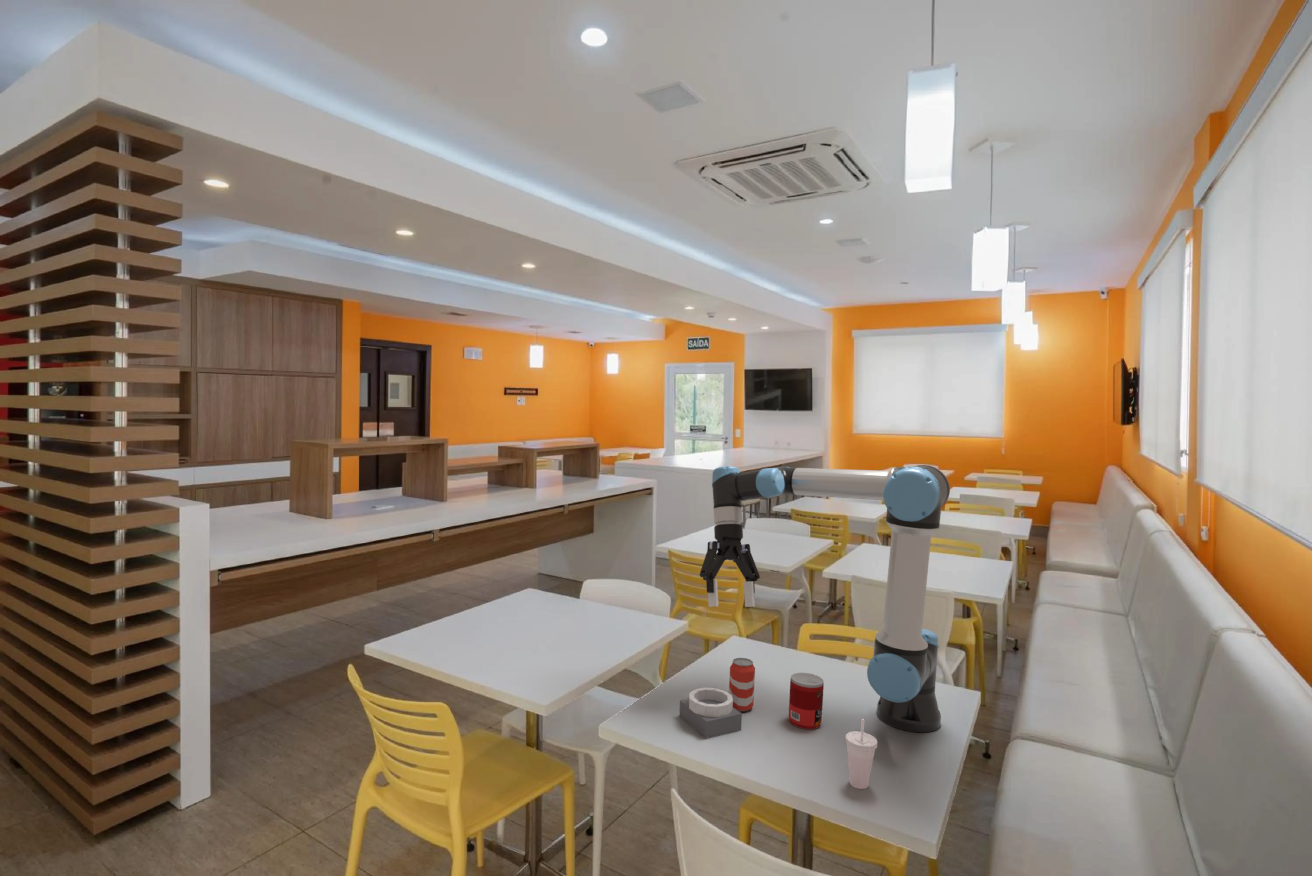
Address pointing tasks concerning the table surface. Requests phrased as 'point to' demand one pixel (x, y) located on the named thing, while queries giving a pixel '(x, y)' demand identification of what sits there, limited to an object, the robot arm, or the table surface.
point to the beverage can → (742, 683)
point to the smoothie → (860, 756)
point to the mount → (710, 712)
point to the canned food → (806, 700)
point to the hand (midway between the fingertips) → (732, 606)
